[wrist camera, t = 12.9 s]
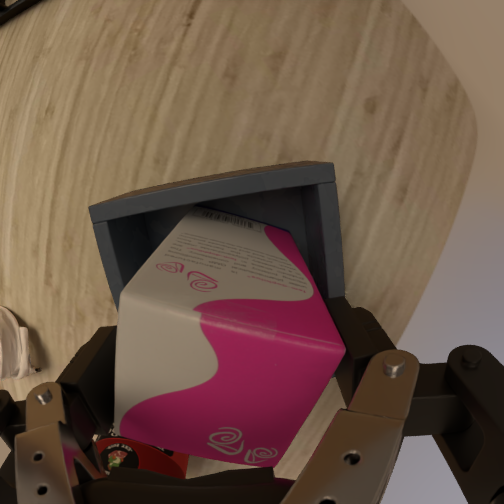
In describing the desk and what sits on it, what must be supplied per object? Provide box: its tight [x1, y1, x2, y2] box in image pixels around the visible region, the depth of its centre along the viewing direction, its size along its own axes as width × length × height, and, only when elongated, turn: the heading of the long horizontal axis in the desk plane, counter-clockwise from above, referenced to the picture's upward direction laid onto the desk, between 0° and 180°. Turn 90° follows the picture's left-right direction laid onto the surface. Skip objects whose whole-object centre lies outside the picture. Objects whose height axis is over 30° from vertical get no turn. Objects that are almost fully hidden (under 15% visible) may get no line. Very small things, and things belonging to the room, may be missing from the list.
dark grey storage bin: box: [89, 161, 345, 378], centre depth 17 cm, size 11×11×6 cm
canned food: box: [95, 422, 189, 479], centre depth 18 cm, size 8×8×11 cm
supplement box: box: [114, 204, 346, 468], centre depth 13 cm, size 6×6×12 cm
